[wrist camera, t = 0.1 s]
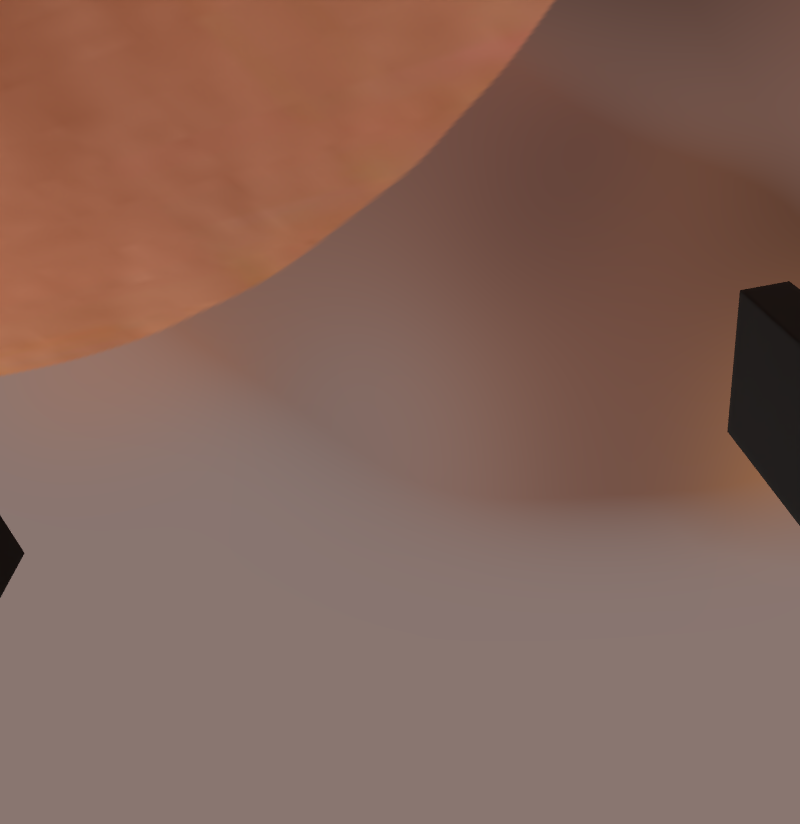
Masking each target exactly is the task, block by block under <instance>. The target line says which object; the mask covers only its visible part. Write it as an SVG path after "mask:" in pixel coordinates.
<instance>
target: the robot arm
mask: <svg viewBox="0 0 800 824" xmlns="http://www.w3.org/2000/svg"><path fill="white" fill-rule="evenodd" d="M728 421H729V422H728V432H729V434H730V435H731V437H732V438H733V439H734V441H735V442H736V443H737V445H738V446H739V447H740V448H741V450H742V451H743V452H744V453H745V455H746V456H747V457H748V459H749V460H750V461H751V463H752V464H753V465H754V467H756V469H757V470H758V472H759V473H760V474H761V476H762V477H763V478H764V480H765V481H766V482H767V484H768V485H769V486H770V487H771V489H772V490H773V491H774V493H775V494H776V495H777V497H778V498H779V499H780V500H781V502H782V503H783V505H784V506H785V507H786V508H787V510H788V511H789V512H790V514H791V515H792V516H793V518H794V519H795V520H796V521H797V523H798V524H799V525H800V289H798V288H797V287H796V286H795V285H793V284H792V283H791V282H789V281H788V282H783V283H777V284H772V285H766V286H761V287H756V288H751V289H745V290H740V298H739V308H738V319H737V331H736V342H735V353H734V364H733V375H732V387H731V398H730V409H729V420H728ZM23 555H24V552H23V550H22V548H21V547H20V545H19V544H18V542H17V541H16V539H15V538H14V536H13V535H12V533H11V531H10V530H9V528H8V527H7V525H6V524H5V522H4V521H3V519H2V517H1V516H0V597H1V595H2V593H3V592H4V590H5V588H6V586H7V584H8V582H9V580H10V579H11V576H12V575H13V573H14V571H15V569H16V568H17V566H18V564H19V562H20V560H21V559H22V557H23Z"/></svg>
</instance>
